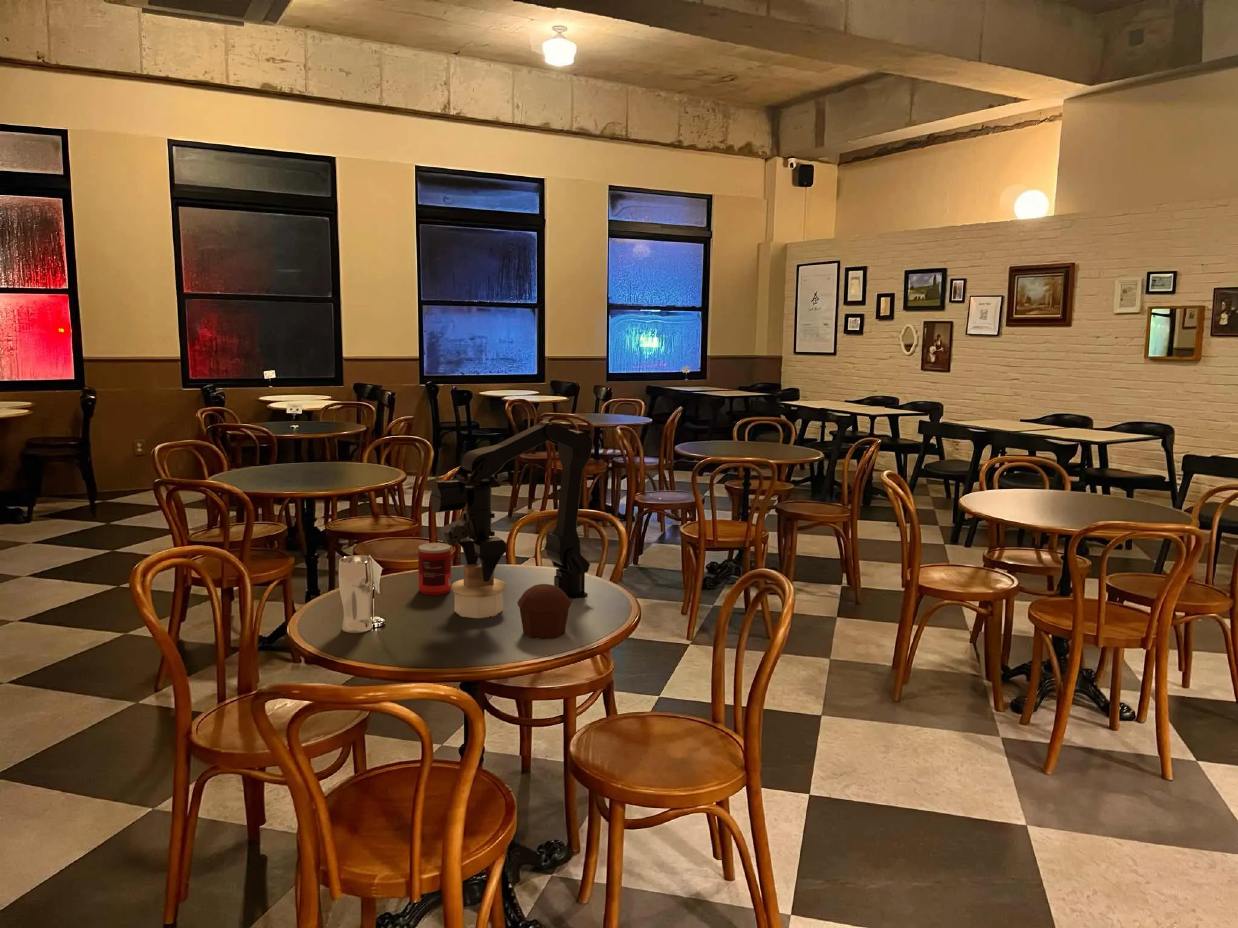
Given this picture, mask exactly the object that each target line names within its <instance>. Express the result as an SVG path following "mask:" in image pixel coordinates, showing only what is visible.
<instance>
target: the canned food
mask: <svg viewBox="0 0 1238 928" xmlns="http://www.w3.org/2000/svg"><path fill="white" fill-rule="evenodd" d="M451 548H452V547H451V545H448V544H447V543H445V542H444V543H443V542H428V543H423V544H420V545H419V546H418V548H417V549H418V553H417V555H418V556H417V558H418V561H417V563H418V565H417V566H418V590H419V593H420V594H423V595H428V596H441V595H444V594H448V593H449V592H451V590H452V549H451Z"/></svg>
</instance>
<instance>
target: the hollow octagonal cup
mask: <svg viewBox="0 0 1238 928" xmlns="http://www.w3.org/2000/svg"><path fill="white" fill-rule="evenodd" d="M453 594H454V593H453ZM502 610H503V611H504V592H502V593H500V594H497V595H493V596H487V597H465V596H460V595H457V594H454V613H456V614H457V615H459V617H463V618H472V619H483V618H489V617H490V616H491V617H496V616H498V615H499V614H500V613H502V612H503V611H502ZM498 613H499V614H498Z"/></svg>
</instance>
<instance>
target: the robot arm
mask: <svg viewBox="0 0 1238 928" xmlns="http://www.w3.org/2000/svg"><path fill="white" fill-rule="evenodd" d="M546 442H549V443H552V444H554V445H557V450H558V451H557V454H558V456H559V460H560V463H561V477H560V478H561V479H560V488H559V494H558V495H559V496H558V504H557V505H558V507H557V516H556V524H555V528H554V529H553V531H552V532H551V533H550V532H547V533H546V534H545V539H546V540H545V542H546V543H545V546H544V547H543V550H546V556H547V558H548V559H549V560H550V561H551V563H552V567H554V568H556V569H555V575H554V577H553V579H554V580H553V585H554V586H557V587H558V588H560V589H561V590H562V591H563V592H565V594H566V595H567V596H568V598H569V599H574V598H575V599H576V598H581V597H588V595H589V593H588V592H586V591H585V587H586V586H585V585H586V584H585V583H586V580H585V577H586V573H589V569H590V566H591V563H590V562H589V561H588V560H587V559H586V558H585V557H584V556H583V555H582V551H581V550H582V549H581V539H580V537H579V533H578V530H577V526H578V517H579V516H578V515H579V508H580V500H581V499H580V497H581V489H582V480H583V471H584V469H585V467H586V465H587V463H588V462H589V460H590V458H591V455H592V450H593V446H594V442H593V438H592V437H591V436H590V434H588V433H587V432H585V431H580V430H574V429H567V428H565V427H561V426H560V425H558V424H556V423H554V422H551V421H546V420H541V421H539V422H538V423H536V424H535V425H533V426H531V427H529V428H527V429H525V430H523V431H520V432H518V433H517V434H514V435H513V436H510V437H509V438H507V439H505V440H502V441H501V442H498V443H496V444H493V445H489V446H483V447H478V448H476V449H473V450H469V451H467V452H466V453H464V455H463V456H462V460H461V464H460V466H459V467H458V469H457V470H456V472H455V473H454V475H453V476H452V477H451V479H450V480H435V481H434V483H433V487H432V489H431V492H430V495H429V499H430V500H429V501H430V506H431V509H432V510H433V512H434V513H435V514H436V513H444V512H446V513H447V512H453V511H454V512H455V511H462V510H463V509H464V508H465V510H464V511H462V513H461V516H460V517H461V518H460V519H458V520H454V521H452V522H450V523H447V524H446V525H443V526H442V527H440V528H439V532H440V535H441V538H442V540H443V542H444V543H445V544H448V545H450V546H453V545H456V543H457V544H458V546H460V547H461V548H462V551H463V554H464V558H465V561H466V565H471V564H478V560H480V563H481V567H482V574H483V580H484V582H488V581H489V580H490V578H491V576H492V574H493V572H495V569H496V567H497V566H498V564H499V561H500V560H501V558H502V556H504V554H505V553H507V552H508V548H507V547H508V543H507V542H505V540H504V539H502V538H500V537H499V536H495V534H496V532H495V531H494V530H493V529H492V528H493V527H492V520H493V519H495V517H496V516H495V515H496V513H495V512H493V511H492V510H493V509H492V508H493V507H492V488H494V489H495V488H500V487H501V485H502V484H501V483H500V482H498V481H497V480H496V478H495V477H494V475H495V474H497V473H498V472H499V471H501V470H502V468H503V467H504V466H505V465H506V463H507V462H509V461H511V460H513V459H515V458H517V457H519V456H521V455H522V454H524V453H526V452H528V451H531V450H532V449H534V448H536V447H538V446H540V445H543V444H544V443H546Z"/></svg>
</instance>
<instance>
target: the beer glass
mask: <svg viewBox="0 0 1238 928" xmlns="http://www.w3.org/2000/svg"><path fill="white" fill-rule="evenodd" d="M338 563H339V564H338V586H339V587H338V588H339V594H340V598H341V603H342V609H343V621H342V627H341V629H342V631H343V632H344V633H348V634H361V633H362V634H363V633H366V632H368V631H370V630H372V629H373V621H372V617H371V604H372V603H371V602H372V597H373V591H374V567H373V557H371V556H368V555H359V554H358V555H356V554H355V555H348V556H347V555H346V556H344V557H341V558H339V561H338Z"/></svg>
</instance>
